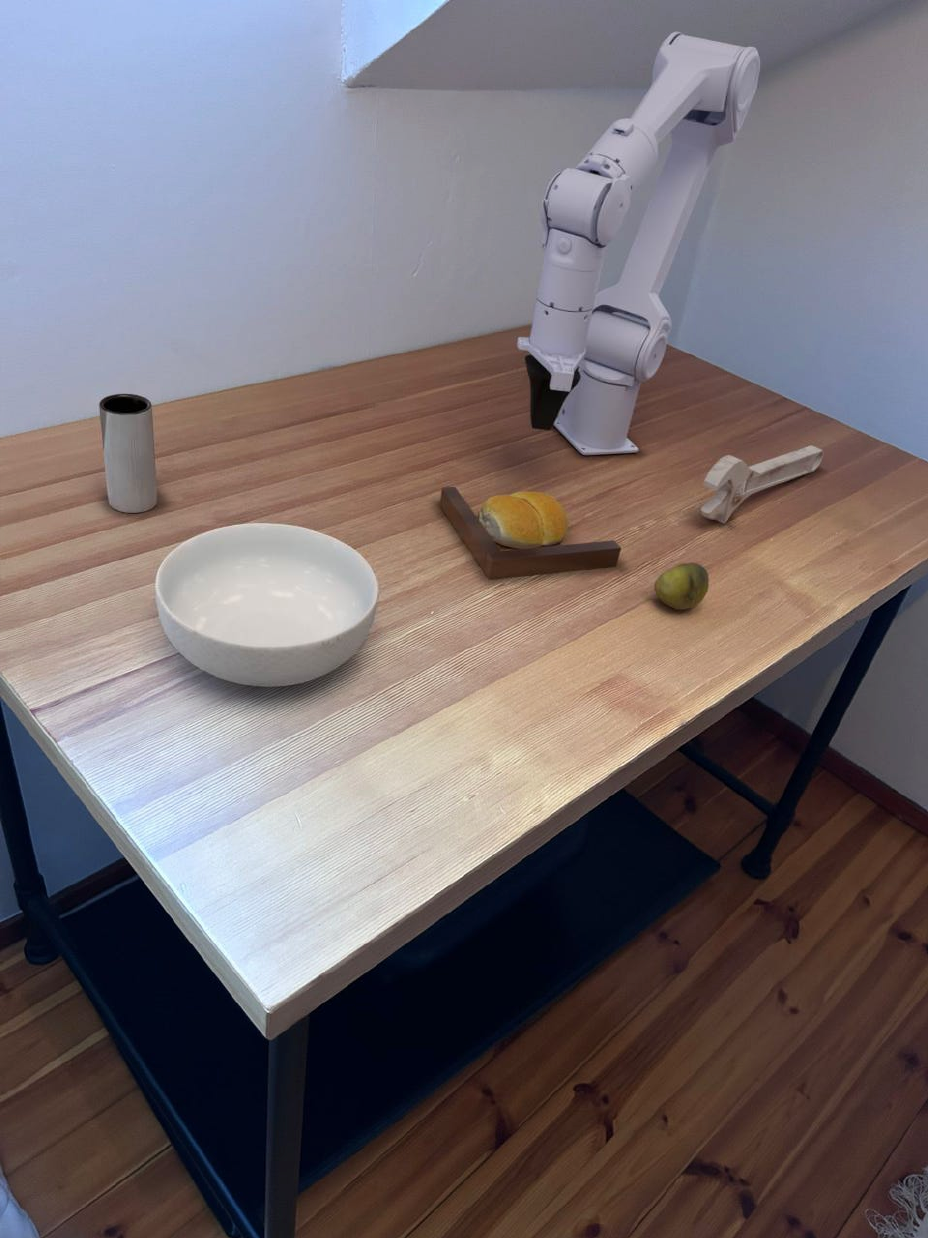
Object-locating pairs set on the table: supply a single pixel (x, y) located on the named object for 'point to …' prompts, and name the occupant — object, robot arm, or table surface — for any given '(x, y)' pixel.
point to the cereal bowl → (266, 602)
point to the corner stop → (521, 559)
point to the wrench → (753, 478)
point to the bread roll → (524, 519)
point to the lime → (682, 585)
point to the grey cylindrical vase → (129, 452)
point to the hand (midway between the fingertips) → (540, 426)
